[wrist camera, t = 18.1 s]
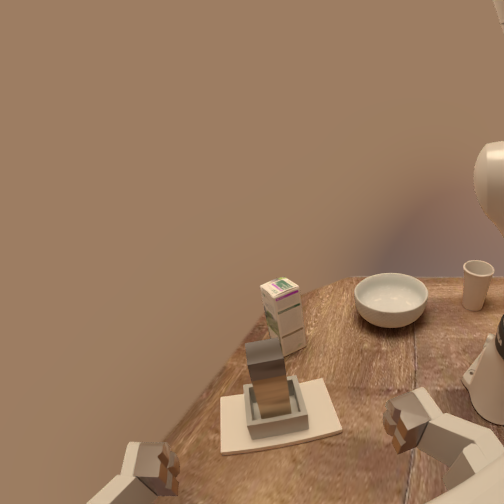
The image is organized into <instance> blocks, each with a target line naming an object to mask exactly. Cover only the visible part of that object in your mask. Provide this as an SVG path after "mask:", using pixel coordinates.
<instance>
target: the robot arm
mask: <svg viewBox="0 0 504 504" xmlns="http://www.w3.org/2000/svg"><path fill="white" fill-rule="evenodd" d="M493 3H494V6H495V9H496V12H497V15H498V18H499V21H500V24H501V27H502V30H503V33H504V0H493ZM474 188H475V193H476V197H477V200H478V202H479V204H480V206H481V208H482V210H483V211H484V213H485V214H486V216H487V217H488V218H489V219H490V220H491V221H492V222H493V223H494V224H495V226H496V227H497V228H498V229H499V231H500V233H501V234H502V236H503V238H504V141H500V142H494V143H488V144H486V145H485V146H484V148H483V149H482V150H481V152H480V154H479V156H478V158H477V160H476V164H475V168H474ZM462 382H463V384H464V385H465V387H466V388H467V389H468V391H469V394H470V398H471V402H472V404H473V406H474V408H475V409H476V411H477V412H478V413H479V414H480V415H481V416H482V417H483V418H485V419H486V420H488V421H490V422H492V423H495V424H499V425H504V315H503V316H502V318H501V321H500V323H499V325H498V328H497V333H496V335H493V334H491V333H489V335H488V337H487V339H486V341H485V344H484V346H483V351H482V352H481V353H480V355H479V356H478V357H477V359H476V360H475V361H474V362H473V364H472V365H471V366H470V367H469V369H468V370H467V371H466V372H465V373H464V375H463V377H462ZM385 407H386V409H387V410H386V411H385V412H384V414H383V425H384V428H385V430H386V432H387V434H388V435H390V436H393V439H392V444H393V446H394V448H395V450H396V452H397V454H400V453H403V452H405V451H408V450H410V449H413V448H415V447H417V448H418V449H420V450H421V451H423V452H425V453H427V454H428V455H430V456H432V457H433V458H435V459H437V460H439V461H440V462H442V463H444V464H446V465H448V466H449V467H450V468H449V469H448V471H447V472H446V473H445V474H444V476H443V478H442V480H443V482H444V484H445V486H446V488H447V490H448V491H447V492H445V493H444V494H442V495H440V496H438V497H436V498H434V499H432V500H431V501H429V502H427V503H425V504H504V447H503V445H502V444H501V442H500V441H499V440H498V438H497V437H496V435H495V434H494V433H493V431H492V430H491V429H488V428H485V427H483V426H480V425H477V424H474V423H472V422H469V421H466V420H464V419H461V418H458V417H456V416H453V415H451V414H448V413H445V414H443V413H442V412H441V410H440V409H439V407H438V406H437V405H436V403H435V402H434V400H433V399H432V398H431V396H430V395H429V393H428V392H427V391H426V389H425V388H423V387H420V388H417V389H415V390H413V391H410V392H407V393H405V394H403V395H400V396H398V397H395V398H393V399H390V400H388V401H387V402H386V406H385ZM170 448H171V447H170V446H169V444H168V443H147V442H146V443H145V442H129V444H128V446H127V449H126V453H125V457H124V461H123V466H122V470H121V474H120V475H116V477H114V478H113V479H112V480H111V481H110V482H109V483H108V484H107V485H106V486H105V487H104V488H103V489H102V490H100V491H99V492H98V493H97V494H96V495H95V496H94V497H93V498H92V499H91V500H90V501H88V502H87V503H86V504H153V503H154V501H155V500H156V499H157V497H158V496H178V487H179V482H178V481H177V479H176V477H177V476H178V474H179V473H180V464H179V459H178V457H177V455H176V454H175V453H174V452H172V451H170Z"/></svg>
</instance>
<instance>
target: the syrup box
mask: <svg viewBox="0 0 504 504" xmlns="http://www.w3.org/2000/svg"><path fill="white" fill-rule="evenodd" d="M260 289H261V294H262V299H263V305H264V310H265V315H266V320H267V325H268V331H269V335H270V339H272V338H277V337H278V339H279V343H280V346H281V350H282V354H283V357H285V356H287V355H289V354H292V353H294V352H296V351H298V350H300V349H302V348H304V347H306V338H305V329H304V320H303V312H302V304H301V295H300V288H299V286H298V285H296V284H295V283H293V282H292V281H290V280H289V279H287V278H285V277H281V278H278V279H275V280H272V281H270V282H267V283H265V284H263V285H261V286H260Z"/></svg>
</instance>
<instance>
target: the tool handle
mask: <svg viewBox="0 0 504 504" xmlns="http://www.w3.org/2000/svg"><path fill="white" fill-rule="evenodd" d="M245 347H246V356H247V365H248V369H249V373H250V377H251V381H252V385H253V389H254V392H255V396H256V400H257V404H258V408H259V411H260V415H261V419H266V418H272V417H277V416H282V415H287V414H292V412H291V404H290V398H289V391H288V384H287V377H286V370H285V363H284V357H283V354H282V350H281V346H280V343H279V339H278V337H277V338H272V339H267V340H261V341H256V342H251V343H245Z"/></svg>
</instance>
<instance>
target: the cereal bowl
mask: <svg viewBox="0 0 504 504" xmlns="http://www.w3.org/2000/svg"><path fill="white" fill-rule="evenodd" d="M354 297H355V304H356V308H357V310H358V312H359V313H360V315H361V316H362V317H363V318H364V319H365V320H366V321H368V322H369V323H371V324H374V325H376V326H380V327H385V328H397V327H403V326H406V325H409V324H410V323H412V322H414V321H415V320H417V319H418V318H419V317H420V316H421V314H422V313H423V311H424V309H425V307H426V304H427V300H428V290H427V288H426V286H425V285H424V284H423V283H422V282H421V281H419V280H418V279H416V278H414V277H411V276H408V275H404V274H398V273H383V274H378V275H373V276H370V277H368V278H366V279H364V280H362V281H361V282H360V283H359V284H358V285H357V286H356V288H355V292H354Z"/></svg>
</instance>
